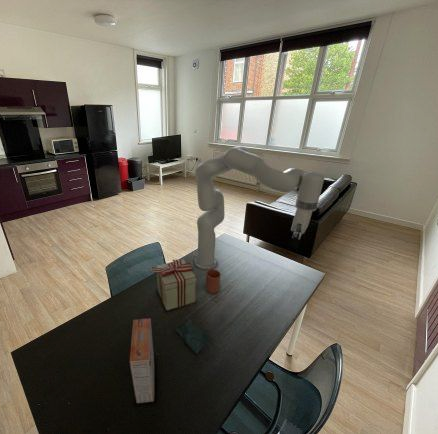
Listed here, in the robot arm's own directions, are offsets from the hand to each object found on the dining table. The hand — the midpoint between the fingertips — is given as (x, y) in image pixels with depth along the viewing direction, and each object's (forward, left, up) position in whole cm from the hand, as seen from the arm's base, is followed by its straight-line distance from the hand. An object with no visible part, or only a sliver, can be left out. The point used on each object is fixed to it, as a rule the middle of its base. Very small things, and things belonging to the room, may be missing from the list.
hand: (297, 241), depth 100 cm
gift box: (-43, -31, -31) cm, 61 cm away
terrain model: (-22, -44, -31) cm, 59 cm away
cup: (-30, -16, -31) cm, 46 cm away
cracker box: (-25, -68, -31) cm, 78 cm away
